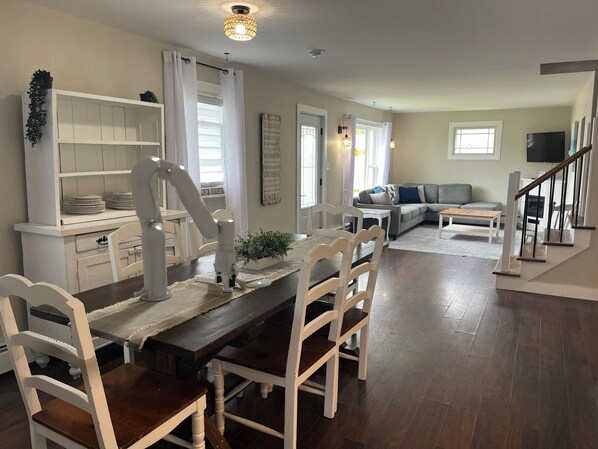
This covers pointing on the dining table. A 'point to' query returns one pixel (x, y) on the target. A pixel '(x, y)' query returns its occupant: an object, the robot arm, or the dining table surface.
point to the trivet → (260, 283)
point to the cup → (224, 282)
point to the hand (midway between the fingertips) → (225, 284)
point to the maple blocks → (219, 290)
